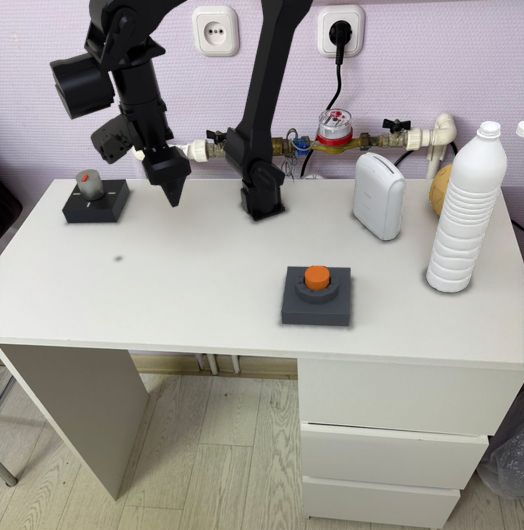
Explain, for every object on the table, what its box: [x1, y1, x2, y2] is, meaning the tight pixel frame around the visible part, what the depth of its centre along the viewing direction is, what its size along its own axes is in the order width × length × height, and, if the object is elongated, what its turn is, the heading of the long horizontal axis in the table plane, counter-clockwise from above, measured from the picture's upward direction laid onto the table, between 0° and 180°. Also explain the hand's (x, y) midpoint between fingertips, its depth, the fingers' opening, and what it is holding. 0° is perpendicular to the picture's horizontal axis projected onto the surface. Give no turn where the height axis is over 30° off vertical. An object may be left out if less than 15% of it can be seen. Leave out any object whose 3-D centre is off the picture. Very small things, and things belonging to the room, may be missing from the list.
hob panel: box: [61, 178, 131, 224], centre depth 97 cm, size 10×10×3 cm
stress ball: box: [427, 162, 453, 217], centre depth 84 cm, size 10×10×10 cm
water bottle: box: [425, 120, 524, 294], centre depth 68 cm, size 9×6×25 cm
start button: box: [305, 265, 329, 290], centre depth 74 cm, size 4×4×2 cm
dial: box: [75, 168, 105, 201], centre depth 94 cm, size 4×4×4 cm
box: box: [280, 265, 352, 327], centre depth 76 cm, size 10×10×4 cm
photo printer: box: [352, 151, 407, 241], centre depth 83 cm, size 10×4×12 cm, turn 26°
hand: (167, 191), depth 82 cm, fingers open, 9 cm apart
